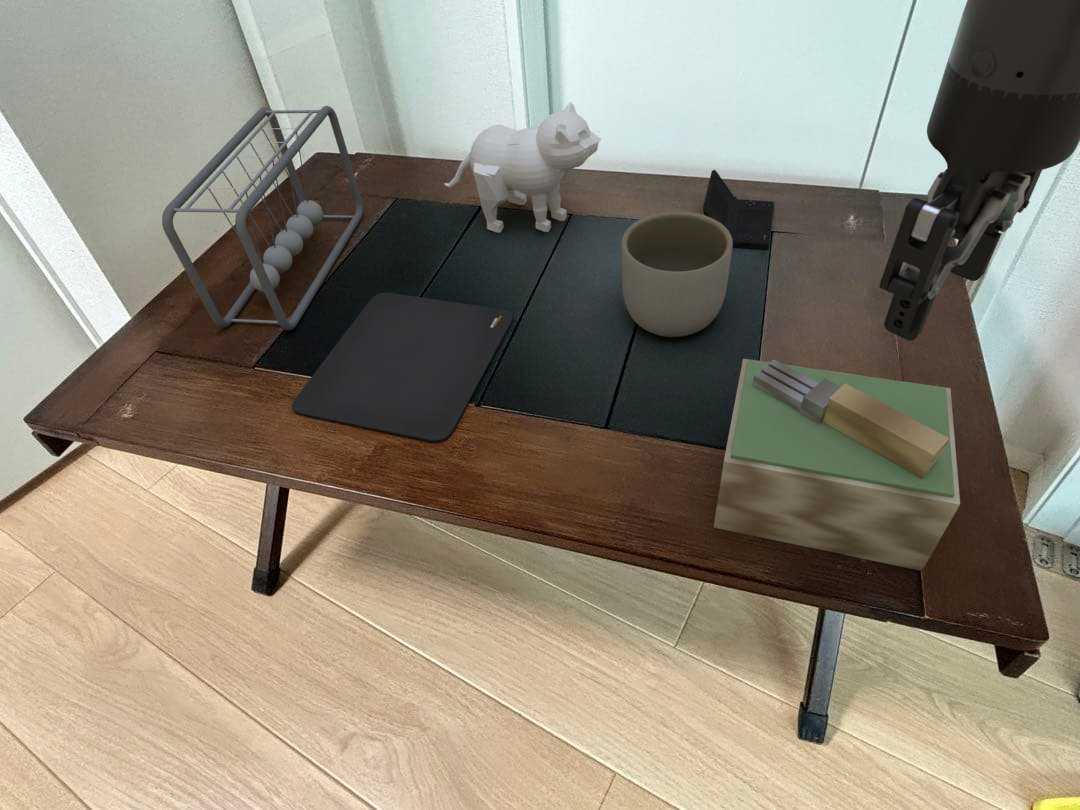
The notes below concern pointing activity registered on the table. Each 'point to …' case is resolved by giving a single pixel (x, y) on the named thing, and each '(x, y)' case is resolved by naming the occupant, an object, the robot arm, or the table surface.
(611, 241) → the table surface
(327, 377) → the mouse pad
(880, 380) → the green rectangular slab
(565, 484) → the table surface
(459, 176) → the cat figurine
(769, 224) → the handheld gaming console
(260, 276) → the newton's cradle
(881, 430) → the fork
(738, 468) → the stand
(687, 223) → the planter
